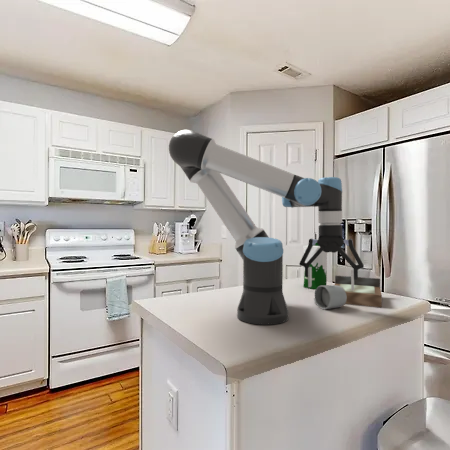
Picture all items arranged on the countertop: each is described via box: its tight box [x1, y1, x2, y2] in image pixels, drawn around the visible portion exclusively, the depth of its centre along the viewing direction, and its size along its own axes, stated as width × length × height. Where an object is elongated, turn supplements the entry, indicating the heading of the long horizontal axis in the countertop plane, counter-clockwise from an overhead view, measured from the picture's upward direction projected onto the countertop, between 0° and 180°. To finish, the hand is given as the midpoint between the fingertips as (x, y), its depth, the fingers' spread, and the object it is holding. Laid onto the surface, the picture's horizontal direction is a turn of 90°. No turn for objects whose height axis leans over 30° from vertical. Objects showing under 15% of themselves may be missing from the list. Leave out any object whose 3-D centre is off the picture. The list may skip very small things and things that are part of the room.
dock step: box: [334, 275, 383, 308], centre depth 118 cm, size 16×16×7 cm
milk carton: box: [302, 243, 328, 290], centre depth 138 cm, size 9×9×20 cm
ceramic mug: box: [313, 284, 347, 310], centre depth 109 cm, size 11×8×8 cm
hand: (330, 288), depth 107 cm, fingers open, 13 cm apart
